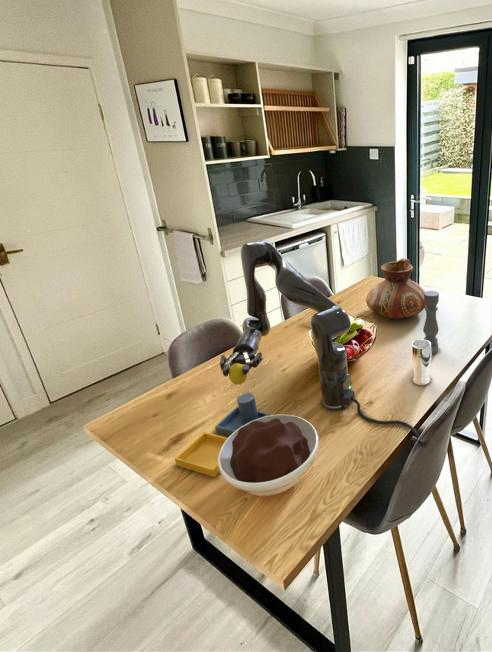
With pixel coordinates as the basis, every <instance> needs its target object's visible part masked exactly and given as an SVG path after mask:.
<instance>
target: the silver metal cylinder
mask: <svg viewBox="0 0 492 652" xmlns="http://www.w3.org/2000/svg"><path fill="white" fill-rule="evenodd" d="M410 351H411V363H412V368H413V377H412V383H414V384H415V385H418V386H426V385H428V384H429V383H430V382H431V378H430V368H431V362H432V354H431V343H430V342H429V341H428V340H424V338H423V339H422V338H421V339H415V340H413V341H412V342H411V350H410Z"/></svg>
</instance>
